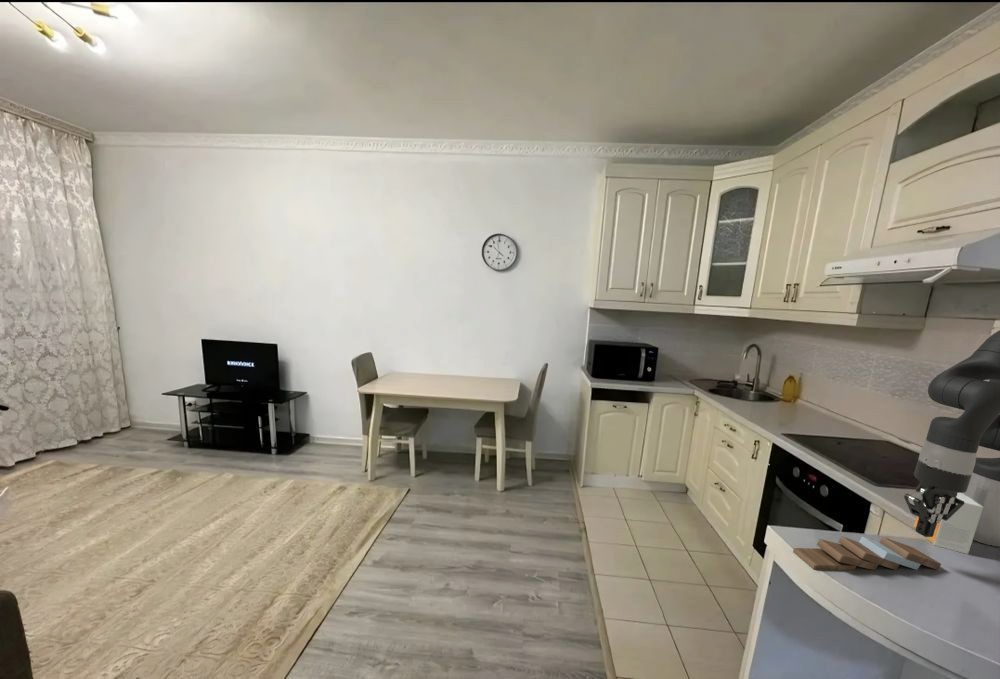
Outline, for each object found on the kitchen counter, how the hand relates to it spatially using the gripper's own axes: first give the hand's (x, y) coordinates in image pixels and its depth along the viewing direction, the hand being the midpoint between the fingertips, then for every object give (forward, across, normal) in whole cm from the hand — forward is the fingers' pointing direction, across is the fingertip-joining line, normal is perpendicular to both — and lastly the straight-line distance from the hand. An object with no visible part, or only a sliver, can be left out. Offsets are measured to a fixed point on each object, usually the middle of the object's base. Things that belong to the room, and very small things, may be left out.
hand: (923, 534), depth 81 cm
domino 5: (+6, -3, 0) cm, 7 cm away
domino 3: (+6, +8, 0) cm, 10 cm away
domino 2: (+6, +14, 0) cm, 15 cm away
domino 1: (+7, +19, 0) cm, 20 cm away
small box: (+7, -18, -7) cm, 21 cm away
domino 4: (+6, +3, 0) cm, 7 cm away
